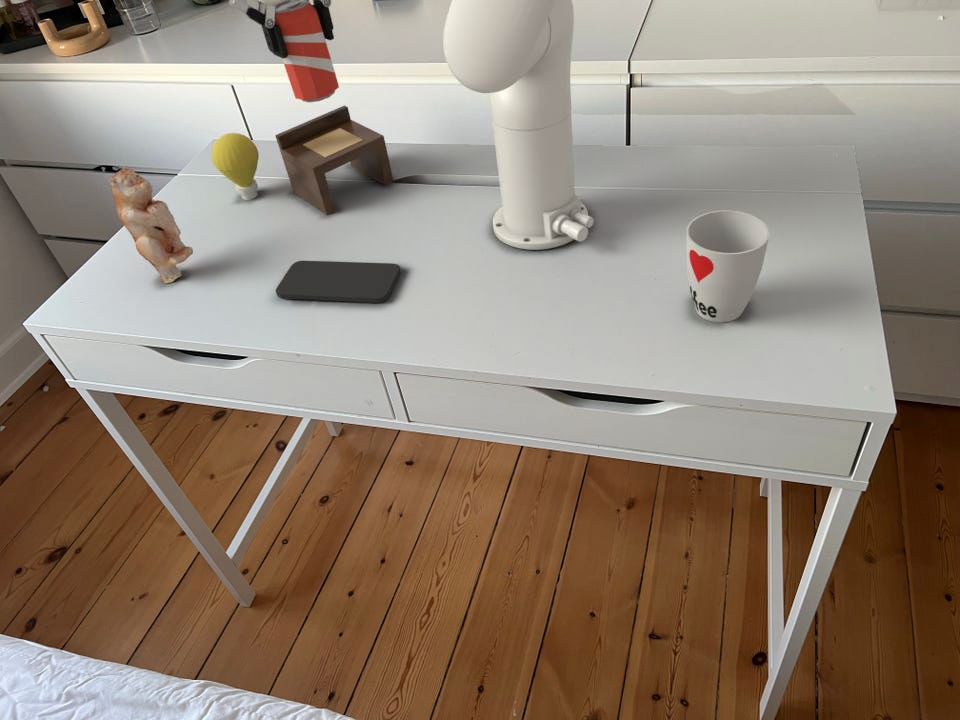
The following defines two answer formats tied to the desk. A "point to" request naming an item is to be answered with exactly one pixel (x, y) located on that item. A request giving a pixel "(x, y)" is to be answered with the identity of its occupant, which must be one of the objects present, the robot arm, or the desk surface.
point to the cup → (724, 262)
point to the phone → (339, 281)
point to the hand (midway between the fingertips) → (303, 45)
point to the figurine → (149, 223)
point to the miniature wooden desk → (331, 154)
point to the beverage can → (305, 51)
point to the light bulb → (237, 162)
